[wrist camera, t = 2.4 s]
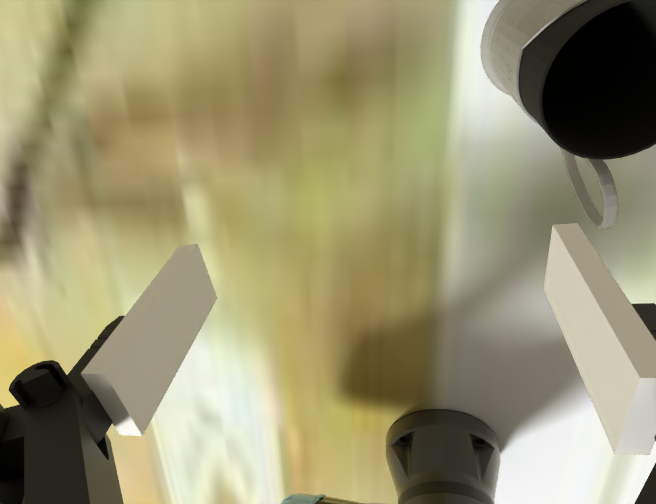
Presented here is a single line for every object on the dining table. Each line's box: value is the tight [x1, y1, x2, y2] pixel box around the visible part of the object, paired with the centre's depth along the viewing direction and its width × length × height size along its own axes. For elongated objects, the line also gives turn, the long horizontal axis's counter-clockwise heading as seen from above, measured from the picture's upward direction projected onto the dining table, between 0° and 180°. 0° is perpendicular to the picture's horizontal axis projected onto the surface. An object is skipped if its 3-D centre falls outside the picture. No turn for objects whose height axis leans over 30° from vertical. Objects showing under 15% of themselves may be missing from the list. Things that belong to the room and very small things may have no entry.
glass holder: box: [481, 0, 656, 229], centre depth 29 cm, size 9×14×15 cm, turn 18°
